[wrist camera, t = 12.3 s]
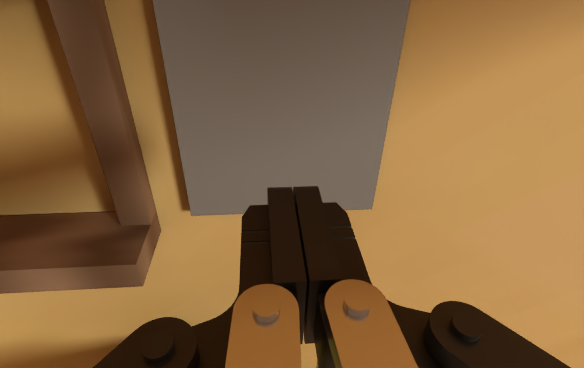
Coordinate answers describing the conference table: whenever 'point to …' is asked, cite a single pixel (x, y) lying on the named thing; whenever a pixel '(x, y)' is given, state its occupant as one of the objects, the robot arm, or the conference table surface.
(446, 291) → the conference table surface
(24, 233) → the wooden frame
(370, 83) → the pad
